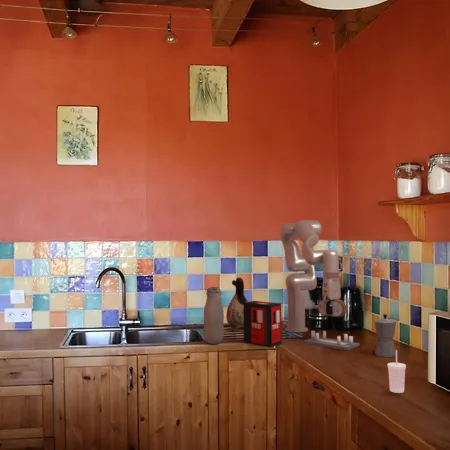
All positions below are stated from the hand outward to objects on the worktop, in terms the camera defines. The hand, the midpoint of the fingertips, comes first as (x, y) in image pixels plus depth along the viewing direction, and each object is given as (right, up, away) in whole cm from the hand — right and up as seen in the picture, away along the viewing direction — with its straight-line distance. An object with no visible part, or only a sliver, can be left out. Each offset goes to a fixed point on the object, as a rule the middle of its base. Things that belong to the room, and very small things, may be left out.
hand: (331, 313), depth 250 cm
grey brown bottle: (-57, -16, +4) cm, 60 cm away
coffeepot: (+20, -15, -21) cm, 33 cm away
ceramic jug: (-43, -16, +37) cm, 59 cm away
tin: (0, -1, 0) cm, 2 cm away
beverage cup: (+7, -14, -73) cm, 75 cm away
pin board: (0, -15, 0) cm, 15 cm away
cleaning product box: (-33, -16, +3) cm, 37 cm away
